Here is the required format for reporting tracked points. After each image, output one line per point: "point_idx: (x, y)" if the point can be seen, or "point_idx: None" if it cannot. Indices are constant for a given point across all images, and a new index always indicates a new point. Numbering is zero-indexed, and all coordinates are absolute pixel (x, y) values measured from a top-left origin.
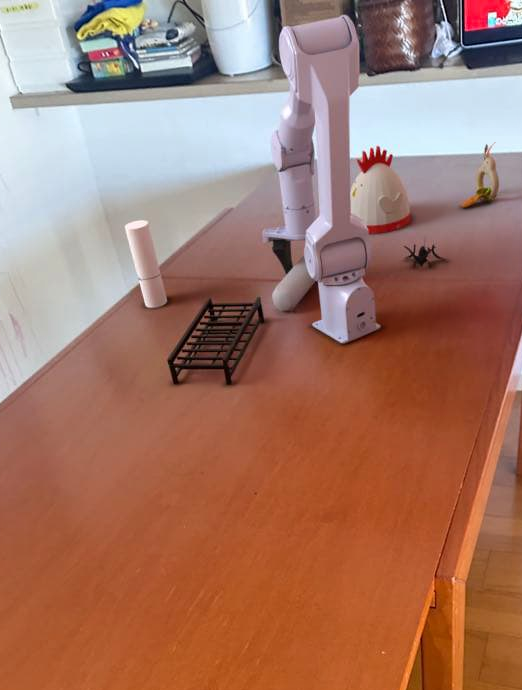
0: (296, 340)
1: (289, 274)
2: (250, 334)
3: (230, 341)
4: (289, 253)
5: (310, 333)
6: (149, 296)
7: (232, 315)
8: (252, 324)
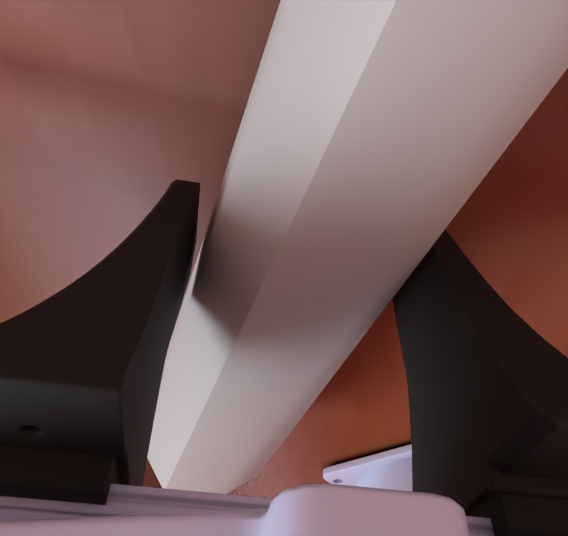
0: (273, 497)
1: (208, 434)
2: None
3: None
4: (156, 334)
5: (314, 483)
6: None
7: None
8: None
